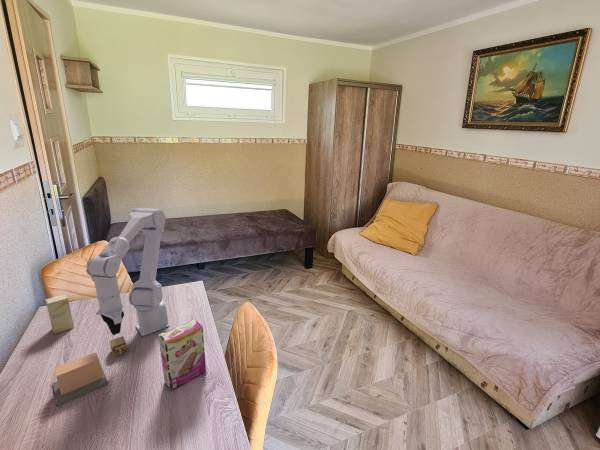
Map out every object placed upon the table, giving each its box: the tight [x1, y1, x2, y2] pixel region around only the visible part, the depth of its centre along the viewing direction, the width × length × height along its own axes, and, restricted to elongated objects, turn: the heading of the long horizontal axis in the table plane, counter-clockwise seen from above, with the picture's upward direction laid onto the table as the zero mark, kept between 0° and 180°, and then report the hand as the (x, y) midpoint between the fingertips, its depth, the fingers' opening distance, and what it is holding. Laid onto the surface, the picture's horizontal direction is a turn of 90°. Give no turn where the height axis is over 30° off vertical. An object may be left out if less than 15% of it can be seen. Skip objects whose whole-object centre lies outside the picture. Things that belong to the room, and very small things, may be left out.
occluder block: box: [54, 351, 103, 396], centre depth 92 cm, size 10×4×6 cm, turn 131°
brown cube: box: [109, 335, 129, 358], centre depth 106 cm, size 4×4×4 cm
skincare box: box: [45, 293, 75, 335], centre depth 116 cm, size 6×4×12 cm
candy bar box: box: [158, 319, 207, 392], centre depth 94 cm, size 11×5×16 cm, turn 134°
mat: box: [52, 363, 109, 407], centre depth 93 cm, size 12×10×1 cm
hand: (116, 333), depth 101 cm, fingers closed
